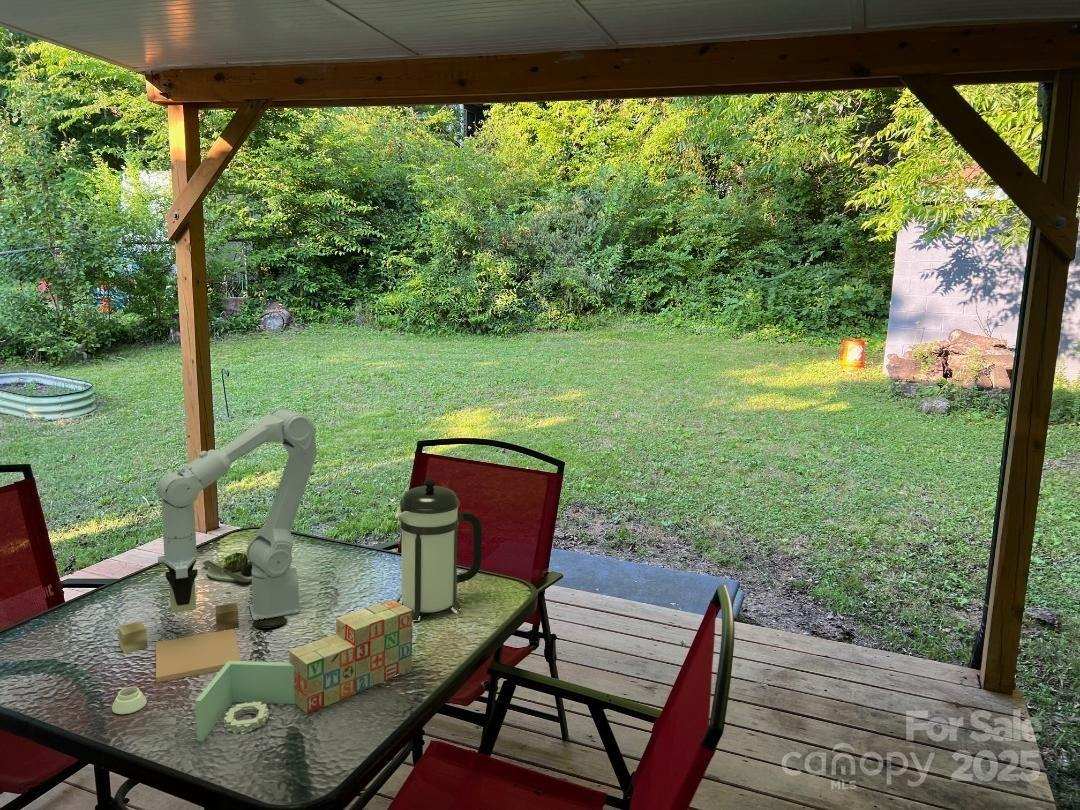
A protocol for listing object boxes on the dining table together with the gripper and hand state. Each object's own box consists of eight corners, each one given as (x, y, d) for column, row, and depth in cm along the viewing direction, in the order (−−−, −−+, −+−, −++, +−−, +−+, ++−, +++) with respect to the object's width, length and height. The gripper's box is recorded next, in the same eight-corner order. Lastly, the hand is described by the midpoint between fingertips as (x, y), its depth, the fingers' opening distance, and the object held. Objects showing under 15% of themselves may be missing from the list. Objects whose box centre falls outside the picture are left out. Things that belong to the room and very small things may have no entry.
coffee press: (448, 630, 153) (450, 491, 148) (381, 616, 158) (381, 482, 153) (481, 597, 169) (484, 471, 164) (420, 586, 174) (420, 464, 169)
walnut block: (236, 620, 154) (236, 602, 153) (238, 628, 150) (238, 610, 150) (216, 624, 152) (215, 606, 151) (217, 632, 148) (216, 614, 148)
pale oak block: (141, 640, 144) (140, 621, 144) (147, 647, 141) (146, 628, 141) (119, 646, 142) (118, 627, 141) (124, 654, 139) (123, 634, 138)
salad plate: (182, 581, 173) (181, 563, 172) (227, 554, 190) (226, 537, 189) (256, 590, 169) (255, 571, 169) (295, 562, 187) (295, 545, 186)
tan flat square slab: (234, 633, 148) (234, 628, 148) (240, 666, 136) (240, 661, 136) (156, 647, 142) (156, 642, 141) (156, 682, 129) (155, 677, 129)
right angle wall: (197, 744, 114) (195, 700, 112) (229, 700, 126) (228, 660, 124) (274, 747, 114) (272, 703, 113) (299, 703, 126) (298, 663, 124)
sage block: (195, 600, 148) (193, 572, 148) (196, 609, 145) (194, 580, 144) (170, 604, 146) (168, 576, 145) (170, 613, 143) (169, 584, 142)
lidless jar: (153, 701, 124) (127, 697, 125) (152, 685, 124) (126, 681, 124) (132, 718, 119) (105, 714, 120) (131, 701, 119) (104, 697, 120)
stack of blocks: (307, 715, 121) (305, 647, 119) (289, 700, 126) (287, 633, 124) (412, 670, 137) (412, 608, 135) (393, 657, 141) (393, 597, 139)
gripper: (156, 525, 148) (160, 588, 150) (156, 549, 135) (160, 617, 137) (195, 521, 151) (198, 583, 153) (198, 544, 138) (201, 611, 140)
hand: (182, 599), depth 145 cm, fingers closed on sage block, 4 cm apart
